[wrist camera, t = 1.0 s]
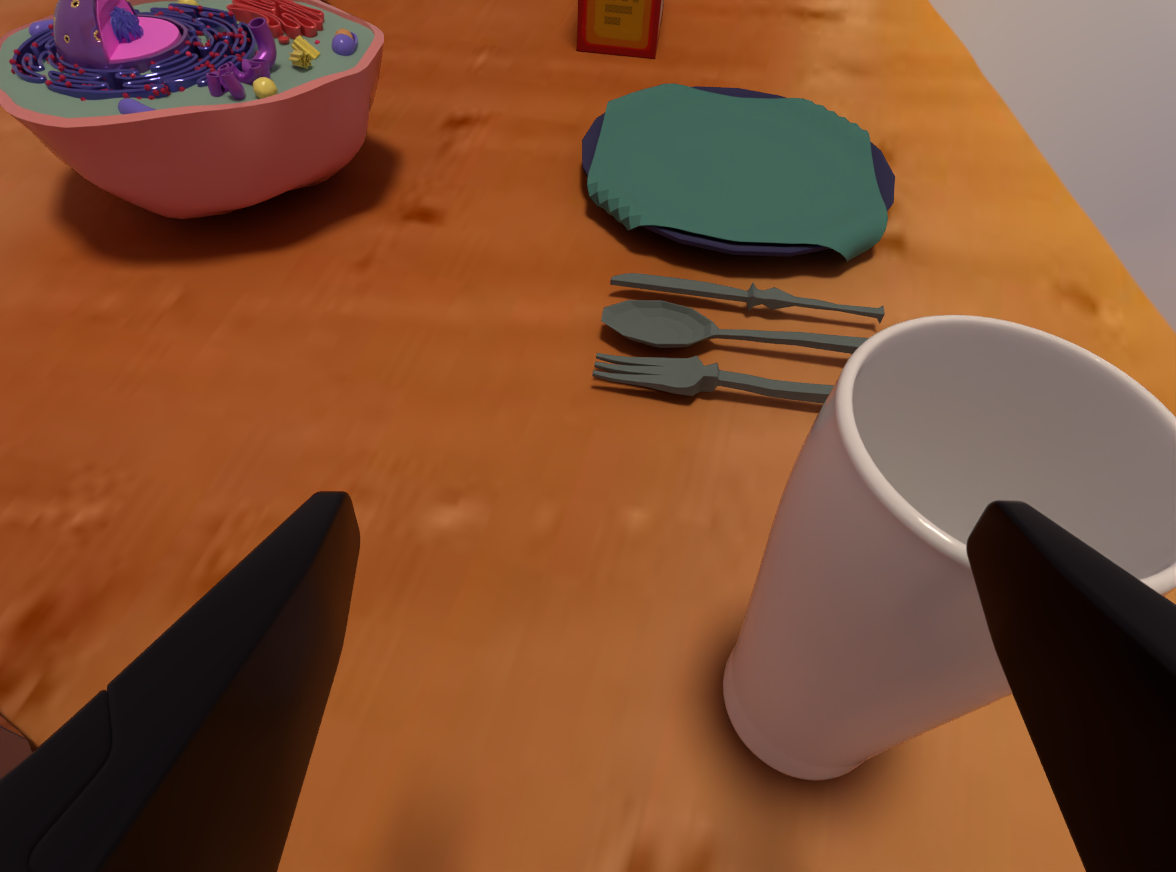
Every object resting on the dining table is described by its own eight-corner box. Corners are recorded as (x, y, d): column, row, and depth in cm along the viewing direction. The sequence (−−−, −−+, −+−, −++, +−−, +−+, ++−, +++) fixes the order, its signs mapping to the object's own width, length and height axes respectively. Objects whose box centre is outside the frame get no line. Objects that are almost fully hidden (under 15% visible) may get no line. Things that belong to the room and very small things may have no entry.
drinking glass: (878, 849, 21) (1267, 675, 10) (672, 754, 23) (798, 506, 11) (905, 655, 25) (1203, 368, 14) (728, 585, 27) (864, 274, 15)
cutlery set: (867, 129, 51) (878, 97, 49) (936, 440, 32) (959, 407, 30) (601, 98, 52) (603, 67, 50) (517, 382, 33) (515, 347, 32)
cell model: (408, 256, 39) (367, 43, 30) (21, 283, 36) (-148, 57, 28) (405, 113, 50) (374, -77, 41) (104, 125, 47) (1, -76, 38)
